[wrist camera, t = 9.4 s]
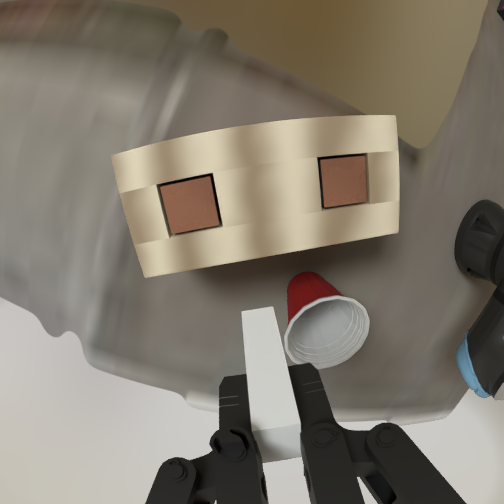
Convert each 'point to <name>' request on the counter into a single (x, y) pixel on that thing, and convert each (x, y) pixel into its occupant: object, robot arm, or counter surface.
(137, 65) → the counter surface
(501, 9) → the cleaning product box
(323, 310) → the plastic cup
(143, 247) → the collar block
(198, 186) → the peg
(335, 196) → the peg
